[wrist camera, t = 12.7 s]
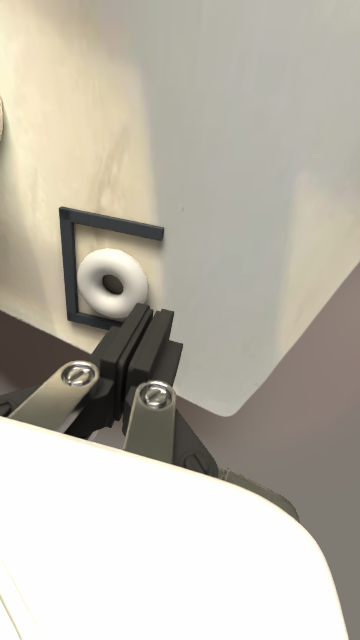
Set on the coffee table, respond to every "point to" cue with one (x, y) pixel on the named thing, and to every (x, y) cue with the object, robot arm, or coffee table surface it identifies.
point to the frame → (69, 260)
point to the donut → (119, 267)
